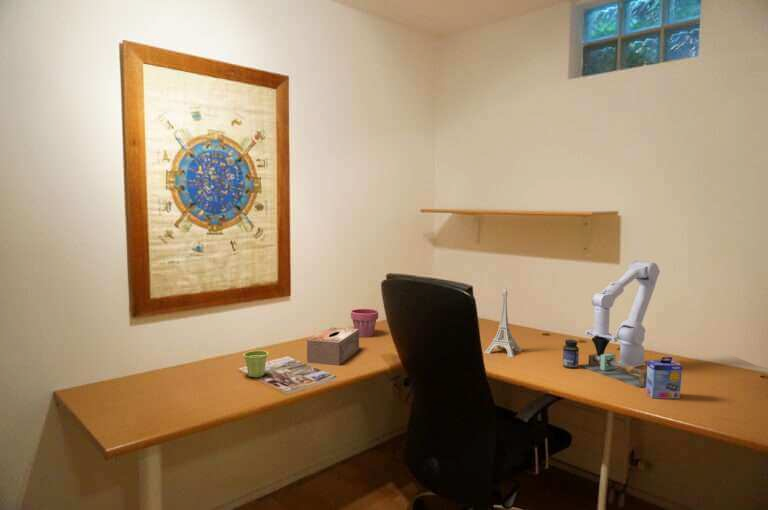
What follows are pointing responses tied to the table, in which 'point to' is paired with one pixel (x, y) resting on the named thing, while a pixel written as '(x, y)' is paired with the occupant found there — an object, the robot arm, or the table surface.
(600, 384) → the table surface
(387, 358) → the table surface
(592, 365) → the rail stand
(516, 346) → the eiffel tower
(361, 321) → the plant pot
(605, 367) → the collar
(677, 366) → the ink cartridge box
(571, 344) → the pill bottle
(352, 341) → the tissue box cover
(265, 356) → the plant pot
